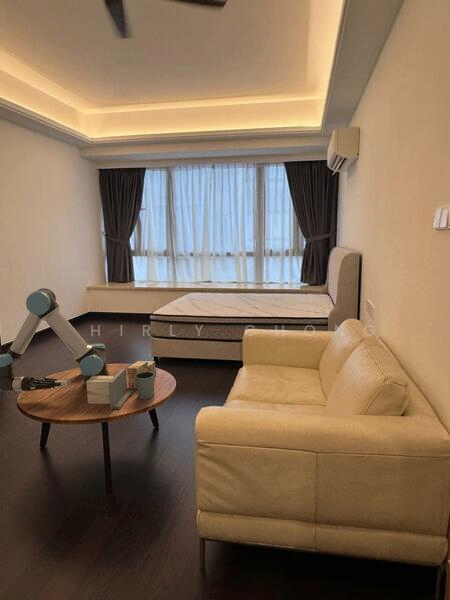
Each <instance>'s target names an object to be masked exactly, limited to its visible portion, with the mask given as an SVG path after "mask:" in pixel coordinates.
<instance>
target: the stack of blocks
mask: <svg viewBox="0 0 450 600" xmlns="http://www.w3.org/2000/svg"><path fill="white" fill-rule="evenodd" d="M141 372H153V373H154V374H155V376H154V378H155V377H157V366H156V361H153V360H145V361H144V360H138V361H136V362H134V363H133V364H132V365H129V366H128V367H127V378H128V380H127V382H128V388H129V389H136V390H137V385H136V380H135V375H136V374H138V373H141Z"/></svg>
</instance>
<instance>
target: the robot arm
mask: <svg viewBox="0 0 450 600" xmlns="http://www.w3.org/2000/svg"><path fill="white" fill-rule="evenodd" d="M56 297H57V296H56V294H55V292H54V291H53V290H51V289H50V288H44V287H43V288H39V289H37V290H34V291H32V292H31V293H30V294H29V295H28V296H27V297H26V299H25V306H26V309H27V311H28V312H29V313H28V315H27V317H26V319H25V320H24V321H23V324H22V325H21V327H20V328H19V331H18V332H17V334H16V336H15V338H14V340H13V341H12V344H11V346H10V347H9V349H8V350H7V352H6V353H3V354H0V392H3V393H4V392H20V393H21V392H32V391H37V390H47V389H49V390H50V389H55V388H56V387H58V388H59V387H64V388H65V387H68V386H69V380H58V378H49V377H45V376H44V377H42V379H41V378H34V377H33V376H15V371H14V368H15V367H16V366H17V364H19V363H20V362H21V361H22V359H23V356H24V353H25V351H26V350H27V348H28V346H29V344H30V342H31V341H32V339H33V337H34V335H35V334H36V332H37V330H38V329H39V327H40V324H41V323H42V321H45V322H46V324H47V325H49V327H50V328H51V329H52V330H53V332H54V333H55V334H56V335H57V336H58V337H59V338H60V340H61V341H62V342H63V343H64V344H65V346H67V348H68V349H69V350H70V352H72V354H73V355H74V361H75V362H76V363H77V364H78V365H79V370H81V371H82V373H84V374H85V375H84V378H83V385H84V386H85V387H87V384H86V381H87V380H89V379H90V378H91V377H92V376H111V375H110V373H109V370H108V367H107V364H108V363H107V353H106V350H107V349H106V345H105V344H104V343H92V344H88V343H87V342H86V341H85V339H84V338H83V337H82V335H81V334H80V333H79V332H78V331H77V330H76V329H75V327H74V326H73V325H72V324H71V323H70V322H69V320H68V319H67V318H66V317H65V316H64V314H63V313H62V312H61V311H60V305H59V304H58V303H57V298H56Z"/></svg>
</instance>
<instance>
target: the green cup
mask: <svg viewBox="0 0 450 600" xmlns="http://www.w3.org/2000/svg"><path fill="white" fill-rule="evenodd" d="M154 376H155V374H154V373H153V372H141V373H138V374H136V375H135V380H136V385H137V389H136V390H137V396H138V398H139V399H140V400H149V399H152V398H154V397H155V377H156V376H155V377H154Z"/></svg>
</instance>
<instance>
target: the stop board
mask: <svg viewBox="0 0 450 600" xmlns="http://www.w3.org/2000/svg"><path fill="white" fill-rule="evenodd" d="M113 376H114V377H113V378H112V379H111V380H110V381H109V396H110V404H109V406H110V407H109V409H110V410H121V409H122V408H123V407H124V405H125V404H126V402H127V401H128V400H129V399H130V398H131V396H132V395H133V393H134V391H133V390H131V389H130V390H129V389H128V384H127V383H128V380H127V368H126V367H125V368H121V369H120V370H119V371H118V372H117V373H116V374H115V375H113Z"/></svg>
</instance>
